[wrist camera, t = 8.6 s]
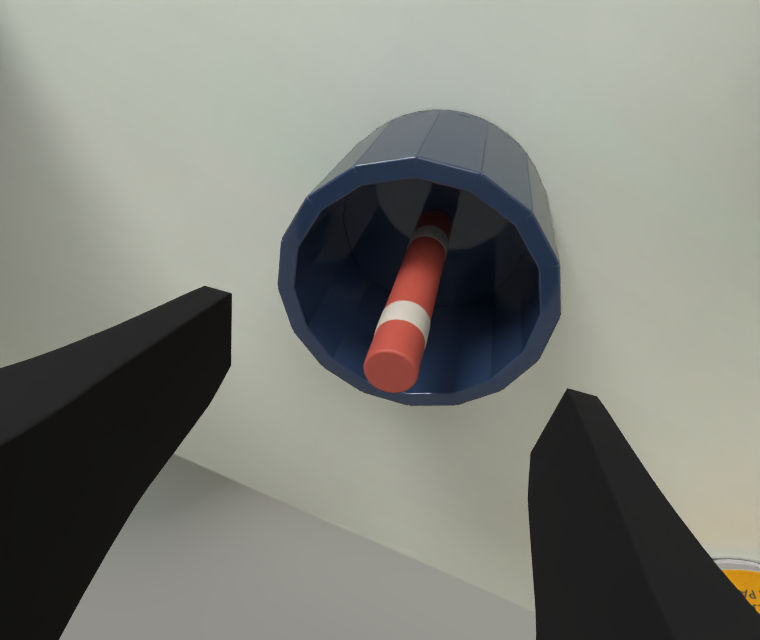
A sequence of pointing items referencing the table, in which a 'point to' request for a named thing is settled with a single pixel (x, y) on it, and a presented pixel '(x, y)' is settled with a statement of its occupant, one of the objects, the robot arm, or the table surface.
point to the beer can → (743, 578)
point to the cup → (461, 267)
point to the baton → (409, 308)
